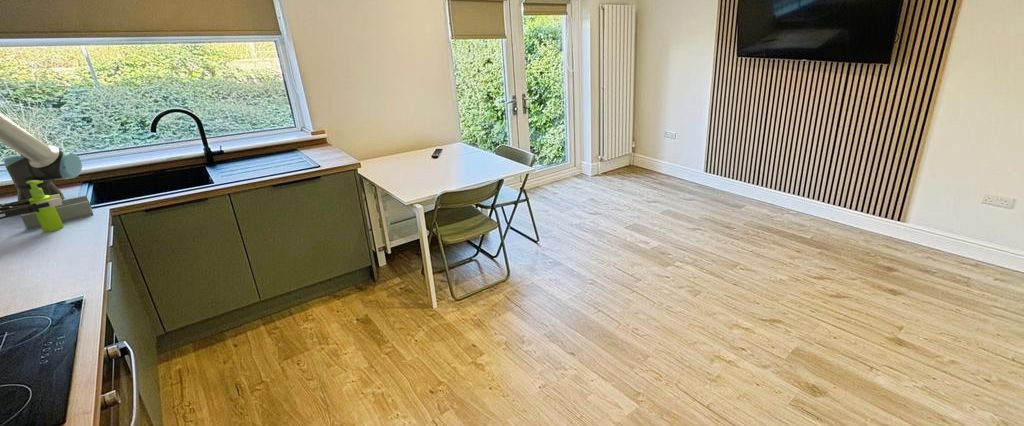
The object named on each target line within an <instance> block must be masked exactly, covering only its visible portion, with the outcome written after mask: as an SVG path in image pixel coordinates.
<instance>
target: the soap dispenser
mask: <svg viewBox="0 0 1024 426" xmlns="http://www.w3.org/2000/svg"><path fill="white" fill-rule="evenodd" d="M26 183H29V184H30V186H31V188H32V189H31V190H29V191H30V193H31V195H32V198H31V199H29V202H30V204H36V202H41V201H46V200H51V197H50V196H49V195H44V193H43V190H42V188H39V187H37V185H36V184H40V183H43V182H42V181H39V180H31V181H27V182H26ZM39 211H40V212H35V214H36V216H37V218H38V221H39V223H40V225H41V227H40V228H41V229H42V230H43V232H44V233H50V232H55V231H58V230H62V229H63V228H64V227H65V226H64V222H62V221H61V219H60V217H59V215H58V212H57V210H56V208H55V206H54V207H49V208H44V209H39Z"/></svg>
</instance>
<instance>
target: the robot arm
mask: <svg viewBox="0 0 1024 426" xmlns="http://www.w3.org/2000/svg"><path fill="white" fill-rule="evenodd" d="M0 143H2V144H3V145H5V146H7V147H8V148H9V149H11V150H13V151H14V152H16V154H13V155H10V156H7V157H5V158H4V159H3V162H4V166H5V169H6V170H7V173H8V174H9V177H10V178H11V180H12V182H13V184H14V186H15V188H16V190H17V200H16V201H12V202H5V203H0V220H3V219H7V218H12V217H17V216H21V215H24V214H27V213H32V212H40V211H39V209H44V208H49V207H54V206H58V205H62V202H61V201H62V200H65V195H64V193H63V192H62V190H60V189H59V188H58V187H57V186H56V185H55V184H54V183H53V181H52V180H54V181H55V180H69V179H74V178H75V179H76V178H77V177H79V175H80V174H81V172H82V168H83V165H82V160H81V158H80V157H79V155H77V154H76V153H74V152H71V151H68V152H64V151H62V150H61V149H59V148H58V147H57V146H54V145H47V144H46V143H44V142H42V141H41V140H40V139H38V138H37V137H36V136H34V135H32V133H30V132H28V131H27V130H25V129H24V128H22V127H21V126H20V125H18V124H16V123H15V122H14V121H12V120H11V119H9V118H8V117H6V116H5V115H3V114H2V113H0ZM17 153H18V154H17ZM31 180H39V181H42V182H43V183H40V184H36V185H37V187H39V188H42V190H43V193H44V195H49V196H50V197H51V200H46V201H41V202H36V204H30V202H29V199H31V198H32V195H31V193H30V191H29V190H31V189H32V188H31V186H30V184H29V183H26V182H27V181H31Z"/></svg>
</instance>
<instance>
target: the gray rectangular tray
mask: <svg viewBox="0 0 1024 426" xmlns="http://www.w3.org/2000/svg"><path fill="white" fill-rule="evenodd" d="M61 202H62V205H58V206H55V208H56V210H57V212H58V215H59V217H60V219H61V221H62V223H64V222H68V221H73V220H78V219H81V218H86V216H87V217H90V216H89V215H91V216H94V212H93V207H92V205H91V203H90V201H89V199H88V196H87V195H81V196H76V197H72V198H66V199H62V201H61ZM91 207H92V208H91ZM20 218H21V220H22V221H23V222H22V223H23V224H24V225H25V228H26V230H27V231H29V230H34V229H38V228H42V227H41V225H40V223H39V221H38V218H37V216H36V214H35V212H32V213H27V214H22V215H20Z"/></svg>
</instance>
